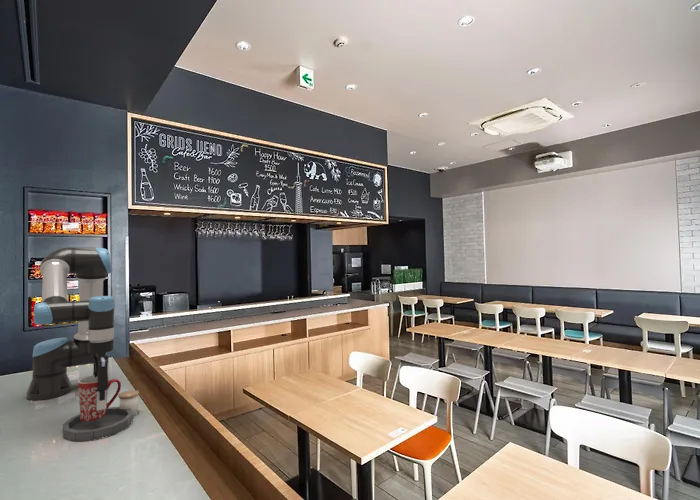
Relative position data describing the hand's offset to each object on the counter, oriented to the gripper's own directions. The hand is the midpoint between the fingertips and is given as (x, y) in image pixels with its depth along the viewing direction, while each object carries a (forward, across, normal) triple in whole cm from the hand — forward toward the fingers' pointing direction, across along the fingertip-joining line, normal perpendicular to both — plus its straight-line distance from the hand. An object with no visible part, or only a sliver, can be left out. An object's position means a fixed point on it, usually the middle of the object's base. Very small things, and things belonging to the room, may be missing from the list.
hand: (99, 405), depth 128 cm
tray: (+8, 0, 0) cm, 8 cm away
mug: (+4, 0, 0) cm, 4 cm away
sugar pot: (+8, -6, +10) cm, 14 cm away
